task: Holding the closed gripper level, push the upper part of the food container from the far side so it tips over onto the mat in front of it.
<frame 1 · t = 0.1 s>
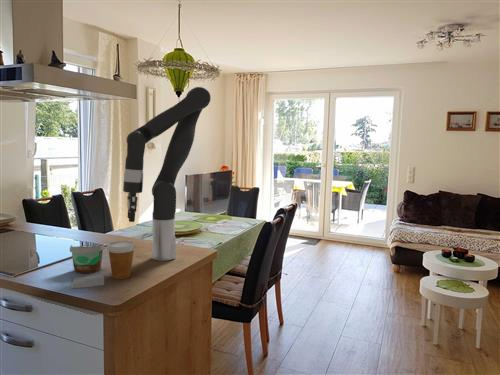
hand: (130, 219, 153), 17 cm above the countertop, tool pointing down, fingers open, 8 cm apart
disposable coffee cup: (121, 276, 137), on the countertop
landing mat: (88, 281, 130), on the countertop
food container: (86, 272, 140), on the countertop
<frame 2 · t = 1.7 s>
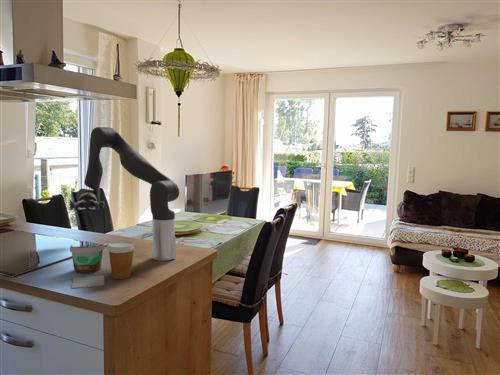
hand: (86, 207, 151), 22 cm above the countertop, tool horizontal, fingers open, 6 cm apart
nothing on the countertop moved.
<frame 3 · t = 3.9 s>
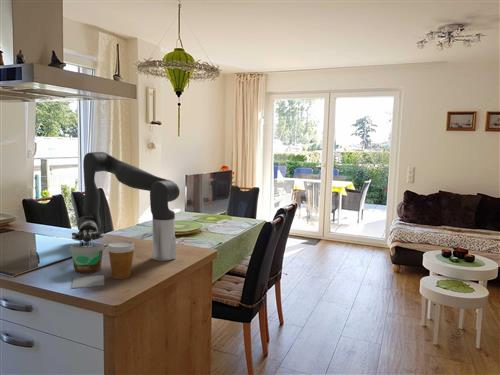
hand: (87, 239, 152), 9 cm above the countertop, tool horizontal, fingers closed
nothing on the countertop moved.
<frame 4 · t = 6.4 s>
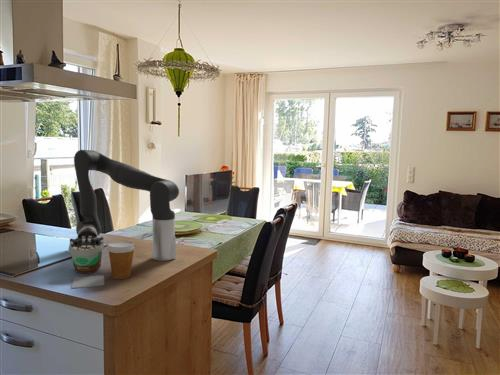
hand: (86, 246, 140), 9 cm above the countertop, tool horizontal, fingers closed
food container: (86, 271, 140), on the countertop, touching gripper
everything else where it was.
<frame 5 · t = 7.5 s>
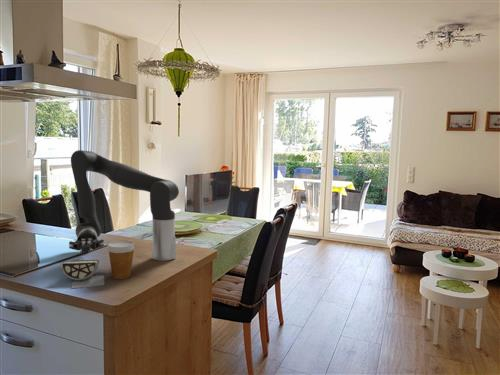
hand: (85, 249, 137), 9 cm above the countertop, tool horizontal, fingers closed
food container: (86, 268, 138), point 2 cm above the countertop, touching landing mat
everything else where it was.
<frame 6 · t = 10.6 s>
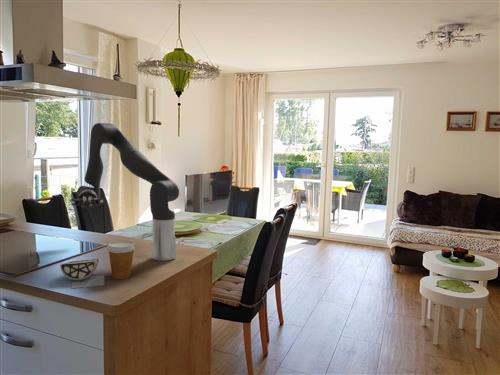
hand: (86, 204, 148), 24 cm above the countertop, tool horizontal, fingers closed
nothing on the countertop moved.
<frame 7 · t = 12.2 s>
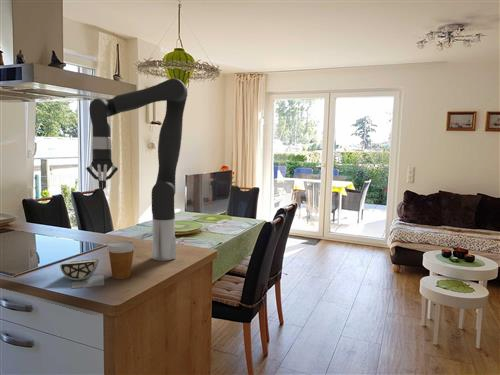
hand: (102, 189, 158), 29 cm above the countertop, tool pointing down, fingers closed
nothing on the countertop moved.
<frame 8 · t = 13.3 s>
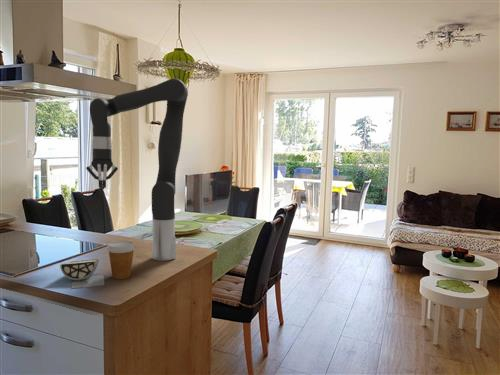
hand: (102, 189, 158), 29 cm above the countertop, tool pointing down, fingers closed
nothing on the countertop moved.
at the end: food container tilted 79°; food container inside the target area (6.1 cm from its centre), point 1.8 cm above the countertop; disposable coffee cup moved 0.2 cm from its start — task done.
